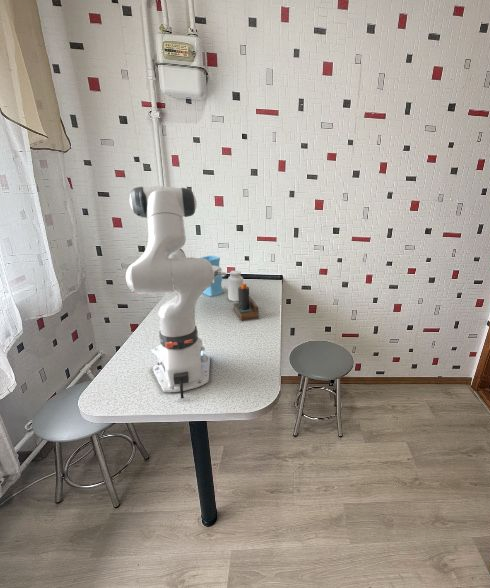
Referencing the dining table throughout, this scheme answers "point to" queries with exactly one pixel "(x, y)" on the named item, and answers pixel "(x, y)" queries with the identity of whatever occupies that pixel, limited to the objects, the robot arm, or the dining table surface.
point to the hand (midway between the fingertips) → (220, 277)
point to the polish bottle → (244, 297)
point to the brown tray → (247, 311)
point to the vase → (216, 286)
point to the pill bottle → (234, 285)
